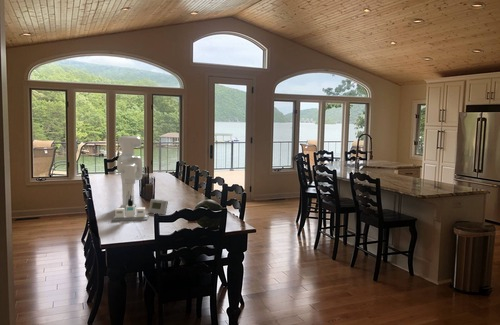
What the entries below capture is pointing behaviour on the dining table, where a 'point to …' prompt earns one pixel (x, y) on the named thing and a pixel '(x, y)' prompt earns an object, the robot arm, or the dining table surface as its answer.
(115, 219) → the rail panel
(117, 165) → the robot arm
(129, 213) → the module
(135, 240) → the dining table surface
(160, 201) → the digital clock
